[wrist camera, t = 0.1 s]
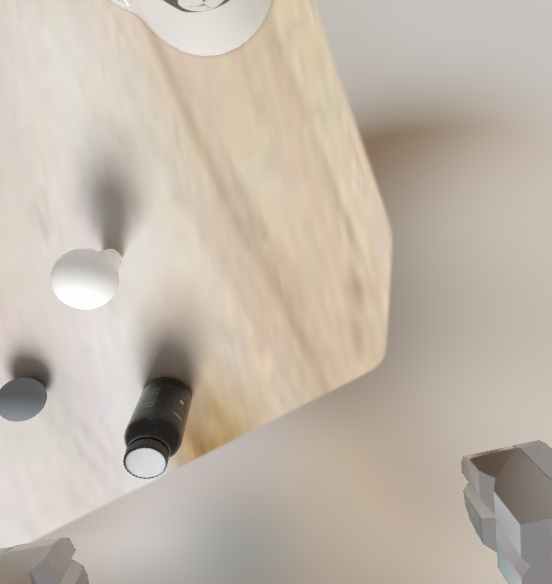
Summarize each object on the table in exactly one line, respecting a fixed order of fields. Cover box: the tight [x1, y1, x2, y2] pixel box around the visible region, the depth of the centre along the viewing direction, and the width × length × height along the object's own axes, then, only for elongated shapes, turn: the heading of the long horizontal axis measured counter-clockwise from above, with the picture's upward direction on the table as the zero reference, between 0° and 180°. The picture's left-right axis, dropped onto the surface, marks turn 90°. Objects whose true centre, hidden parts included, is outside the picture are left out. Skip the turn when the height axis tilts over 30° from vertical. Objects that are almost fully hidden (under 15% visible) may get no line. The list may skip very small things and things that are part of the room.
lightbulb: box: [51, 249, 122, 309], centre depth 40 cm, size 6×6×11 cm
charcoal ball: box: [0, 377, 47, 421], centre depth 48 cm, size 6×6×6 cm
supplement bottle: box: [123, 377, 191, 479], centre depth 47 cm, size 7×7×12 cm
